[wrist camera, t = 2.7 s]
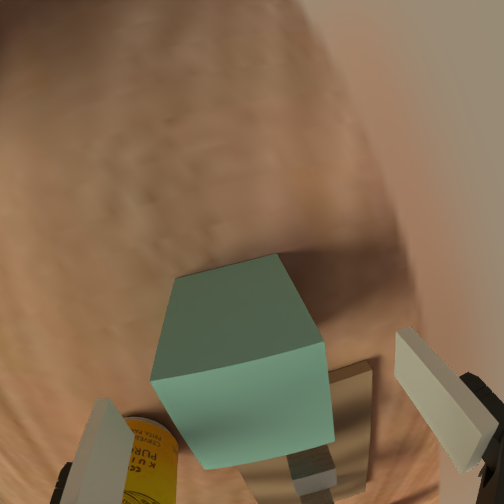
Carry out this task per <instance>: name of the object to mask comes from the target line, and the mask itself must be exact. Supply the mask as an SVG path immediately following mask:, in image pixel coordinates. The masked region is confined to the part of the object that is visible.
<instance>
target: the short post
mask: <svg viewBox="0 0 504 504" xmlns="http://www.w3.org/2000/svg"><path fill="white" fill-rule="evenodd" d="M286 458H287V462H288V466H289V470H290V474H291V478H292V482H293V485H294V488H295V491H296V494H297V496H301V495H305V494H309V493H313V492H317V491H320V490H324V489H327V488H330V487H334V486H337V477H336V467H335V465H334V462H333V459H332V456H331V454H330V451H329V448H328V445H327V444H325V445H321V446H318V447H315V448H311V449H307V450H304V451H300V452H296V453H292V454H288V455H286Z"/></svg>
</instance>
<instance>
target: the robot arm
mask: <svg viewBox="0 0 504 504" xmlns="http://www.w3.org/2000/svg"><path fill="white" fill-rule="evenodd" d="M394 376H395V378H396V379H397V380H398V382H399V383H400V385H401V386H402V388H403V389H404V390H405V392H406V393H407V395H408V396H409V398H410V399H411V401H412V402H413V403H414V405H415V406H416V408H417V409H418V411H419V412H420V414H421V415H422V417H423V418H424V420H425V421H426V422H427V424H428V425H429V427H430V428H431V430H432V431H433V433H434V434H435V436H436V437H437V439H438V440H439V442H440V443H441V445H442V446H443V448H444V449H445V451H446V453H447V454H448V456H449V457H450V458H451V460H452V462H453V463H454V465H455V466H456V468H457V470H458V471H459V473H460V474H461V475H463V474H464V473H466V472H468V471H470V470H471V469H473V468H474V467H476V466H477V465H478V463H479V462H480V460H481V458H482V459H483V460H484V462H485V465H484V466H483V468H482V469H481V471H480V473H479V476H478V477H480V476H481V475H482V479H481V484H480V488H479V493H478V497H477V501H476V504H504V404H503V402H502V401H501V400H500V399H499V398H498V397H497V396H496V395H495V394H494V393H492V391H491V389H490V388H489V387H488V386H486V384H485V383H484V382H483V381H482V380H481V379H480V378H479V377H478V376H475V375H473V374H471V373H469V372H467V373H465V374H464V375H462V376H460V377H458V376H457V375H456V374H455V373H454V372H453V370H452V369H451V368H450V367H449V366H448V365H447V364H446V363H445V362H444V361H443V360H442V359H441V357H440V356H439V355H438V354H437V353H436V352H435V351H434V350H433V349H432V348H431V347H430V346H429V345H428V344H427V343H426V342H425V341H424V339H423V338H422V337H421V336H420V335H419V334H418V333H417V332H416V331H415V330H414V329H413V328H412V327H411V326H408V327H406V328H403V329H401V330H398V331H396V347H395V372H394ZM134 438H135V435H134V433H133V432H132V430H131V429H130V428H129V426H128V425H127V423H126V422H125V420H124V419H123V417H122V416H121V414H120V413H119V411H118V410H117V408H116V407H115V405H114V404H113V402H112V401H111V399H110V398H103V399H96V401H95V404H94V406H93V409H92V411H91V414H90V417H89V419H88V422H87V424H86V427H85V430H84V433H83V435H82V438H81V441H80V443H79V446H78V449H77V452H76V455H75V458H74V461H73V463H72V462H67V463H66V465H65V466H64V467H63V468H62V470H61V472H60V474H59V477H58V482H57V483H56V486H55V488H56V489H54V492H53V495H52V498H51V501H50V504H121V503H122V497H123V492H124V487H125V481H126V476H127V471H128V466H129V461H130V456H131V451H132V447H133V442H134Z"/></svg>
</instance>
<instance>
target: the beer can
mask: <svg viewBox="0 0 504 504" xmlns="http://www.w3.org/2000/svg"><path fill="white" fill-rule="evenodd" d="M123 419H124V420H125V422H126V423H127V425H128V426H129V428H130V429H131V430H132V432H133V433H134V435H135V438H134V442H133V447H132V451H131V456H130V461H129V466H128V471H127V476H126V481H125V487H124V492H123V497H122V503H121V504H176V484H177V464H178V443H177V441H176V439H175V438H174V437H173V436H172V435H171V433H170V432H169V430H168V429H167V428H165V427H164V426H163V425H161V424H160V423H158V422H156V421H153V420H150V419H147V418H143V417H126V418H123Z"/></svg>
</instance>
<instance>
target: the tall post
mask: <svg viewBox="0 0 504 504" xmlns="http://www.w3.org/2000/svg"><path fill="white" fill-rule="evenodd" d="M300 499H301V503H302V504H334V501H333V498H332V495H331V492H330V489H329V488H327V489H324V490H320V491H317V492H313V493H309V494H305V495H301V496H300Z"/></svg>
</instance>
